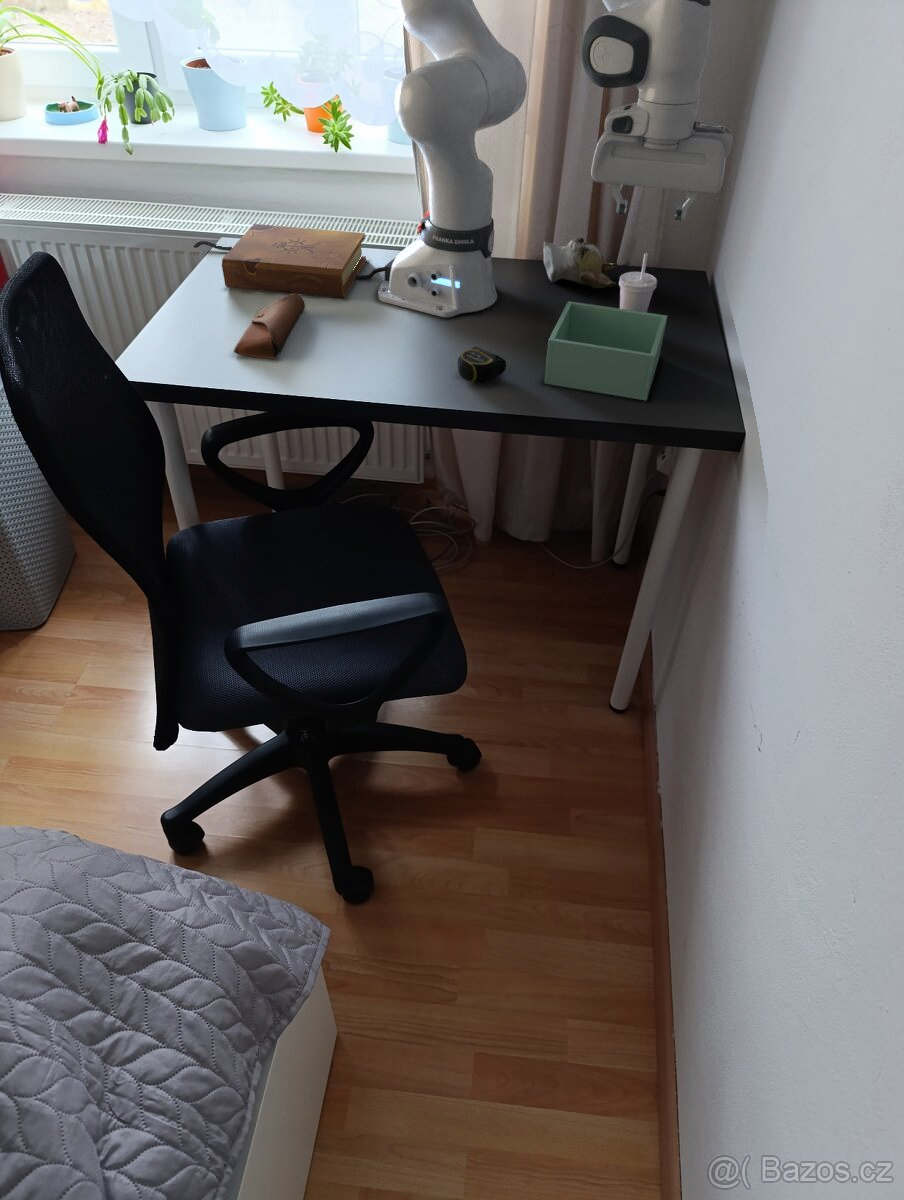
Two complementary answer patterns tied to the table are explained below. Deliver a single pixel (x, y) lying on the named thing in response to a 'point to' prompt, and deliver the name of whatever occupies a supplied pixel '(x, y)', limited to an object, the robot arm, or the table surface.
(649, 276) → the smoothie
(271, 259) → the diary
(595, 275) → the ceramic sculpture
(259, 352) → the sunglasses case
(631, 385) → the green open storage box
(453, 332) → the table surface
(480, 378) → the tape measure
